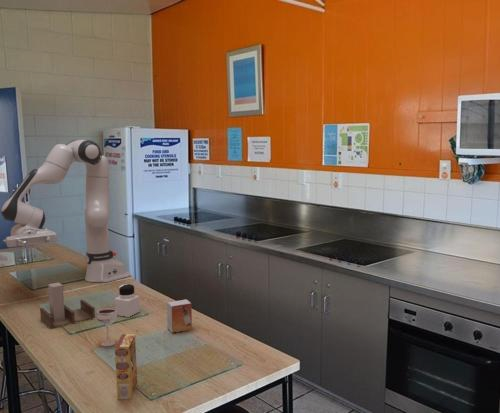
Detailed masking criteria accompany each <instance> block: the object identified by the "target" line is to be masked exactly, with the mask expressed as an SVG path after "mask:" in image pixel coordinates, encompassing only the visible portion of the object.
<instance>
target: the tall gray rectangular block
mask: <svg viewBox="0 0 500 413" xmlns="http://www.w3.org/2000/svg"><path fill="white" fill-rule="evenodd" d="M47 285H48V301H49V302H48V304H49V314H50V315H51V316H53V322H58V321H62V320H65V314H64V304H65V300H64V285H63V284H61V283H60V282H59V281H58V282H54V283H49V284H47Z"/></svg>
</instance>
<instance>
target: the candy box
mask: <svg viewBox="0 0 500 413" xmlns="http://www.w3.org/2000/svg"><path fill="white" fill-rule="evenodd" d="M114 353H115V354H114V356H115V360H114V361H115V375H116V376H115V380H116V398H117V401H118V400H131V399H132V398H133V396H134V394H135V391H136V389H137V386H136V385H138V371H137V370H138V368H137V367H138V366H137V347H136V334H135V333H134V334H133V333H132V334H131V333H129V334H128V333H127V334H121V335H120V336H119V339H118V341H117V343H116V345H115V346H114Z"/></svg>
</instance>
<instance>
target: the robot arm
mask: <svg viewBox="0 0 500 413" xmlns="http://www.w3.org/2000/svg"><path fill="white" fill-rule="evenodd" d="M75 162H77V163H82V164H83V163H84V165H85V170H86V171H85V173H86V174H85V175H86V176H85V209H84V222H85V223H84V224H85V226H84V227H85V238H86V241H85V242H86V254H85V260H86V274H85V277H84V280H85V281H87V282H88V283H89V282H90V283H92V282H93V283H109V282H113V281H116V280H120V279H125V278H128V277H131V272H129V271H127V270H126V268H125V265H124V263H123V262H121V261H120V260H119V259H117V258H115V256H117V254H118V253H117V252H116V251H112V250H110V234H109V225H108V224H109V223H108V222H109V219H110V195H109V190H110V187H109V185H110V169H109V168H110V167H109V166H110V165H109V160H108V158H107V157H106V156H104V155H103V154H102V152H101V148H100V146H99V145H98V143H96V142H95V141H94V140H90V139H89V140H88V139H74V140H71V141H69V142H68V143H66V144H65V143H64V144H63V143H58V144H55V145H54V146H53V147H52V149H51V150H50V152H49V153H48V155H47V156H46V158H45V160H44V163H42V165H40V166H39V167H38V168H33V169H32V170H30V172H28V173H27V175H26V176H25V177H24V179H23V180H22V181H21V182H20V184H19V185H18V187H17V188H16V189H15V191H14V192H13V193H12V195H11V196H10V197H9V198H8V199H7V200H6V201H5V202H4V203H3V205H2V207H1V209H0V212H1V216H2V217H3V219H4V220H5V221H9V222H13V223H16V224H15V225H13V227H11V229H10V236H6V237H5V239H3V240H2V242H3V243H6V246H7V248H15V247H24V248H25V249H27V248H33V247H36V246H39V245H42V244H49V243H55V242H57V241H58V235H57V232H55V231H53V230H49V228H46V227H44V225H45V222H46V214H45V212H44V210H43V209H41V208H39V207H37V206H33V205H32V204H31V205H30V204H29V203H26V202H24V201H23V199H24V197H25V196H26V194H27V193H28V192H29V191H30V189H31V188H32V187H33V186H34V185H39V184H44V185H56V184H59V183H61V182H63V181H64V180H65V178H66V176H67V174H68V172H69V169H70V167H71V165H72V164H74V163H75Z"/></svg>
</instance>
